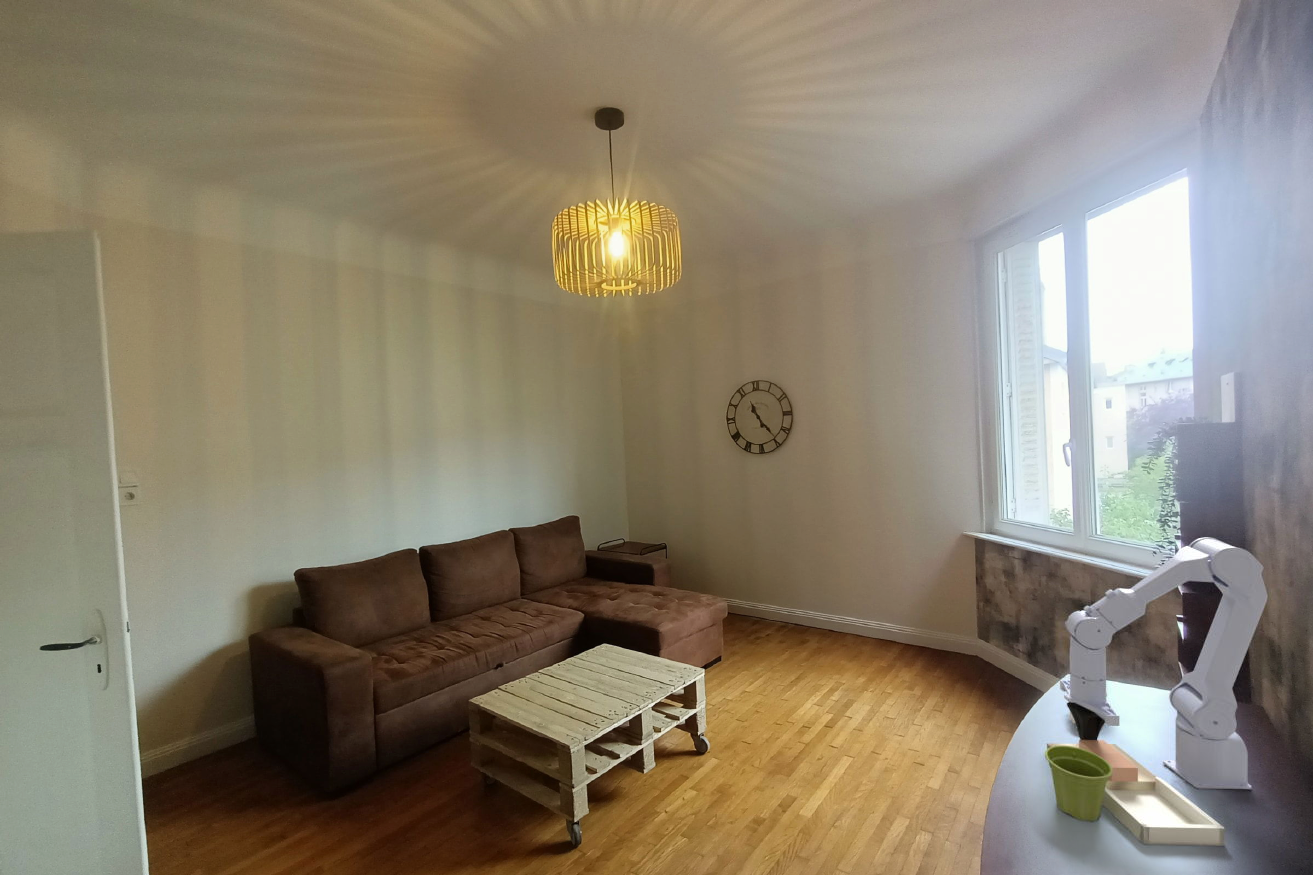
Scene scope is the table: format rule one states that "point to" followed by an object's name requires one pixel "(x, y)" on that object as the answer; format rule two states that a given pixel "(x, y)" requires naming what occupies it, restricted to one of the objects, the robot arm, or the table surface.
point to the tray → (1163, 816)
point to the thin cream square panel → (1144, 781)
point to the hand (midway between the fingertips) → (1088, 742)
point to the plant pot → (1078, 780)
